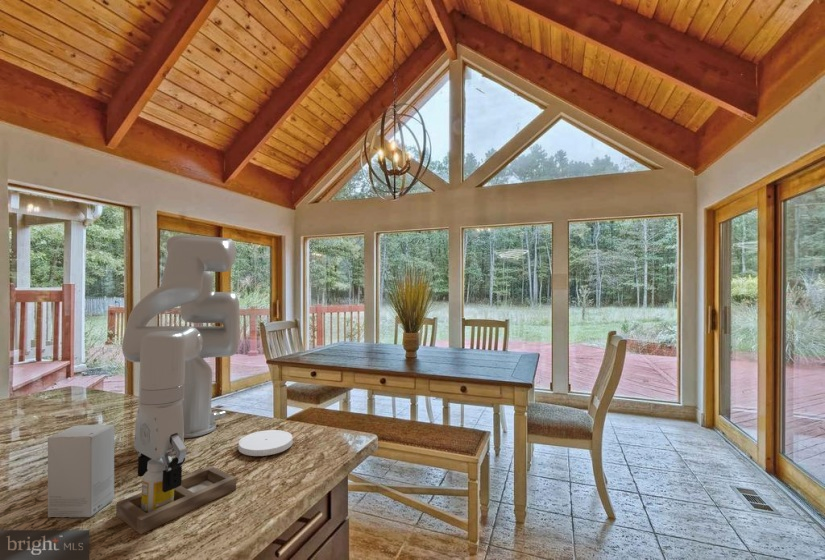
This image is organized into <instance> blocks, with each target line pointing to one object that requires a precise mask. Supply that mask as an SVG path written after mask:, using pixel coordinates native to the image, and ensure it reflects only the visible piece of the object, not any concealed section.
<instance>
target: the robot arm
mask: <svg viewBox="0 0 825 560" xmlns="http://www.w3.org/2000/svg"><path fill="white" fill-rule="evenodd" d="M165 245H166V247H165V248H166V252H167V257H166V260H165V265H164V269H163V274H162V279H161V284H160V286H158V287H157V288H155V289H154V290H152V291H151V292H149V293H148V294H147V295H145V296H144V297H143V298H142V299H141V300H140V301H138V303H136V305H135V306H134V307H133V309H132V310H131V312H130V314H129V316H128V319H127V322H126V326H125V329H124V330H125V331H124V333H123V338H122V345H121V350H122V351H121V352H122V355H123V357H124V358H125V359H126V360H127V361H129V362H132V363H139V385H138V386H139V387H138V407H137V408H138V409H137V411H136V419H135V428H134V429H135V430H134V440H133V446H134V447H133V448H134V449H135V451H137V456H138V459H137V476H138V477H139V478H141V477H142V478H143V475H144V474H145V473H146V472H147V471H148V470H147V463H148V461H149V460H151V459H153V460H160V459H161V458H162V460H163V463H164V467H165V470H164V471H163V481H162V491H163V492H167V491H170V490H172V489H174V488H177V487H179V486H180V485H181V480H182V477H183V475H182V473H183V472H182V471H183V466H184V464H185V463H184V462H185V460H186V455H187V454H188V453H187V452H188V447H186V446H185V444H184V442H185V441H184V440H185V439H188V438H196V437H201V436H205V435H207V434H209V433H212V432H213V431H215V430H216V429H217V423H216V421H217V419H221V418H222V419H223V418H225V417H226V416H227V413H226V412H227V411H225V410H223V411H212V393H213V370H212V368H211V366H210V364H209V363H208V362H207V361H206V360H205V359H206V358H225V357H232V356H234V355H236V353H237V352H238V350H239V342H240V302H239V298H238V297H237V295H236V294H235V293H234V292H233V293H232V292H228V291H214V289H213V288H214V283H213V282H214V275H213V273H212V272H219V273H221V272H222V273H225V272H229V271H230V270H231V269H232V267H233V265H234V264H235V260H236V256H237V248H236V244H235V242H234V240H233V239H231V238H228V237H218V236H204V235H191V234H190V235H189V234H188V235H187V234H186V235H185V234H183V235H181V234H178V235H173V236H169V238H168V239H167V241H166V244H165ZM177 307H180V308H179V309H180V317H181V319H182V320H183V321H184V322H186V323H190V324H192V323H193V324H221V326H219V325H218V326H217V325H216V326H209V325H207V326H206V325H204V326H203V325H199V326H195V325H194V326H189V325H187V326H186V325H185V326H184V325H183V326H182V325H180V326H178V325H175V326H173V325H172V326H171V325H162V326H161V325H155V326H153V325H152V326H150V325H149V326H147V325H148V323H149V322H150V321H151V320H152V319H153V318H154V317H156V316H158V315H160V314H161V313H164V312H167V311H169V310H172V309H175V308H177ZM173 456H174V458H173ZM169 457H171V458H173V459H172V461H171V462H170V461H169Z"/></svg>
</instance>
